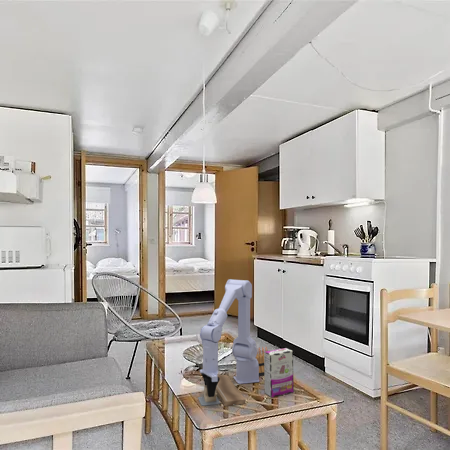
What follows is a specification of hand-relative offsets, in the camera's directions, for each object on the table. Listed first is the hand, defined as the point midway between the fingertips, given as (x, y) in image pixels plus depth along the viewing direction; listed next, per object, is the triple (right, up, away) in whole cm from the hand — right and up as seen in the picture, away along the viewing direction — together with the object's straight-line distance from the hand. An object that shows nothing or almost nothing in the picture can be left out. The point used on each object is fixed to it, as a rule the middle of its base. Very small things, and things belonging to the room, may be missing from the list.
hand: (210, 394), depth 135 cm
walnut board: (+6, -3, +9) cm, 11 cm away
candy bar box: (+27, -3, +7) cm, 28 cm away
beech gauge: (0, -2, 0) cm, 2 cm away
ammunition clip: (+22, -4, +26) cm, 35 cm away
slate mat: (0, -2, 0) cm, 2 cm away
